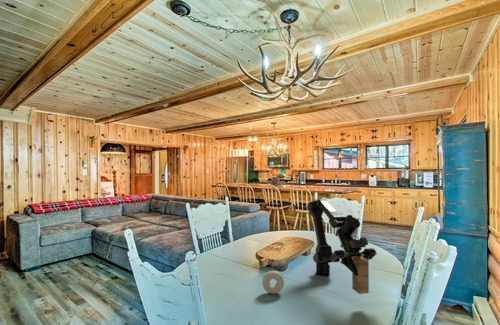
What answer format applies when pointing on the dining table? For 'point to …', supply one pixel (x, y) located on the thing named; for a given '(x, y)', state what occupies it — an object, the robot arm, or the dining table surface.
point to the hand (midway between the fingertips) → (362, 275)
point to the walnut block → (361, 275)
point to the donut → (275, 288)
